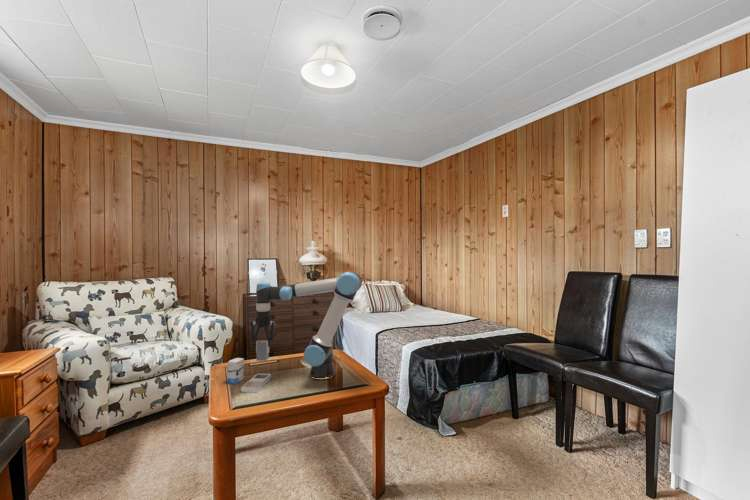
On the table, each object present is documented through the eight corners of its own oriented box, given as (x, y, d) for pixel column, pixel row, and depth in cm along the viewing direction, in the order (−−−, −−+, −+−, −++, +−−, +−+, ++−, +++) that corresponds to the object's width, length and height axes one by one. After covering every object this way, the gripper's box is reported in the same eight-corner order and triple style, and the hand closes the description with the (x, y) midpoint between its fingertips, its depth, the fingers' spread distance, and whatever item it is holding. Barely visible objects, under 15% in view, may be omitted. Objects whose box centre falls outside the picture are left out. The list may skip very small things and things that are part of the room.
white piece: (271, 378, 205) (271, 373, 205) (256, 392, 183) (256, 387, 183) (257, 378, 205) (257, 373, 205) (241, 391, 183) (241, 386, 183)
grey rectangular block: (268, 358, 203) (268, 340, 204) (265, 360, 198) (265, 342, 199) (259, 358, 204) (260, 340, 204) (256, 360, 199) (256, 342, 199)
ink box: (235, 384, 195) (235, 362, 195) (226, 383, 196) (227, 361, 196) (243, 379, 203) (244, 358, 203) (235, 378, 204) (236, 357, 204)
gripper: (281, 309, 205) (280, 351, 204) (249, 309, 206) (249, 350, 205) (277, 311, 198) (276, 354, 197) (244, 311, 199) (244, 354, 198)
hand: (262, 352), depth 201 cm, fingers closed on grey rectangular block, 5 cm apart
